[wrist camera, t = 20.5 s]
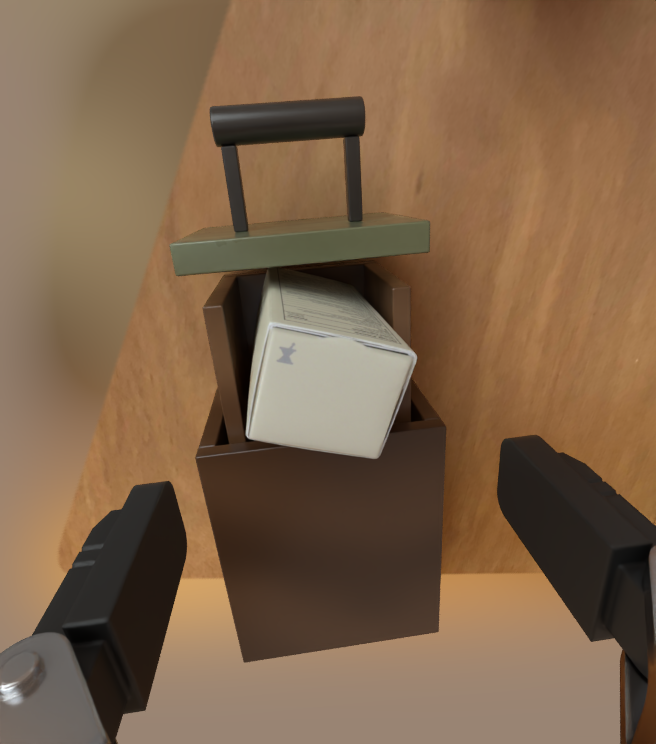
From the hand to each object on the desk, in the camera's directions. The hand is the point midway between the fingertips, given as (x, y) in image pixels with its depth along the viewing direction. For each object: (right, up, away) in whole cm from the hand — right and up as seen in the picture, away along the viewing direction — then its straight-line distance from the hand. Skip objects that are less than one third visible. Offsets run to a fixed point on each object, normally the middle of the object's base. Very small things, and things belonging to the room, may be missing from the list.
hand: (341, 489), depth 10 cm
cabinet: (-1, -3, +20) cm, 20 cm away
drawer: (-2, +8, +14) cm, 16 cm away
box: (-2, +6, +14) cm, 15 cm away
